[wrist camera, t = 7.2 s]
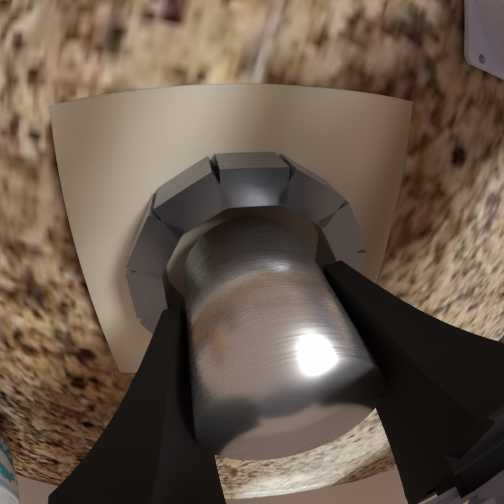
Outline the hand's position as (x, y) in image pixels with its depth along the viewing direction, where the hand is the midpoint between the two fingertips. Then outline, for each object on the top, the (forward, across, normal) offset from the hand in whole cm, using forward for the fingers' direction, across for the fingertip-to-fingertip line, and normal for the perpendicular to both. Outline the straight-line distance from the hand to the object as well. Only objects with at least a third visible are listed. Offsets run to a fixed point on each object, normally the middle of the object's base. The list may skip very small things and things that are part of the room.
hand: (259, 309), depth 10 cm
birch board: (+4, 0, 0) cm, 4 cm away
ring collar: (+4, 0, 0) cm, 4 cm away
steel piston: (+2, 0, 0) cm, 2 cm away
